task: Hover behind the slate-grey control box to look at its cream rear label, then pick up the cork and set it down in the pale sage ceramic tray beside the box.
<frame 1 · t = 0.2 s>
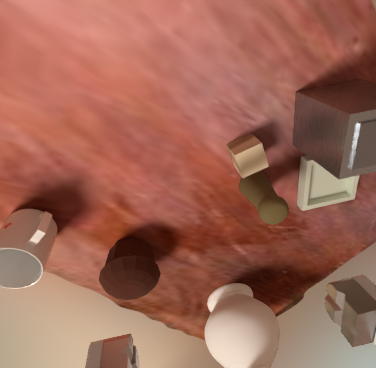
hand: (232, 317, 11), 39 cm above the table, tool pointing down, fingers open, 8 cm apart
decorative vase: (229, 298, 74), on the table
tray: (325, 176, 58), on the table
control box: (324, 113, 51), on the table
maple block: (242, 149, 52), on the table
cork: (252, 183, 56), on the table
mug: (38, 218, 52), on the table
muffin: (130, 252, 60), on the table
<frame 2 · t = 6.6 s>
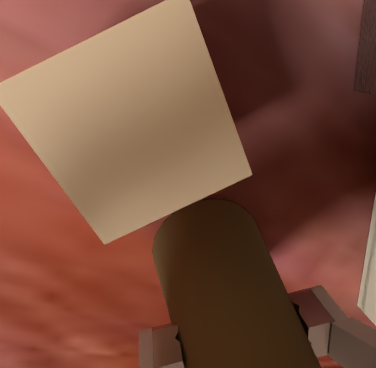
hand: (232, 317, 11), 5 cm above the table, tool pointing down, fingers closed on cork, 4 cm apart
maple block: (138, 107, 12), on the table
cork: (206, 245, 15), on the table, touching gripper
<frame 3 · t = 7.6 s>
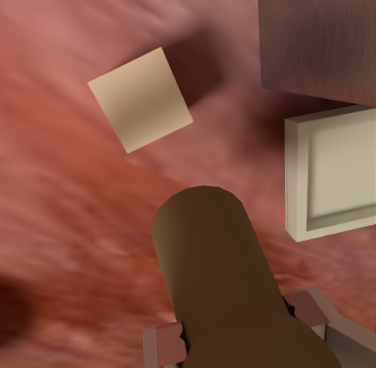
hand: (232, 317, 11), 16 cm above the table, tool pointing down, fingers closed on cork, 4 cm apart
tray: (341, 167, 28), on the table
control box: (331, 8, 22), on the table
maple block: (142, 96, 22), on the table
cork: (199, 228, 17), point 9 cm above the table, touching gripper
when the fingers open (6 cm above the table, at t = 11.6 s): cork stays where it is, resting on tray.
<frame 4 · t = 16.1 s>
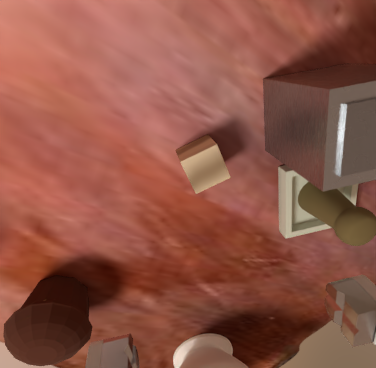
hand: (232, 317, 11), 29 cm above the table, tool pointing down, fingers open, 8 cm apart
decorative vase: (202, 353, 58), on the table
tray: (313, 192, 45), on the table
control box: (304, 108, 39), on the table
maple block: (198, 157, 39), on the table
cork: (314, 194, 45), resting on tray
muffin: (60, 295, 46), on the table
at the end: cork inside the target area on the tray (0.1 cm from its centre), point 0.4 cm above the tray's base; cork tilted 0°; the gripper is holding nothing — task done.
